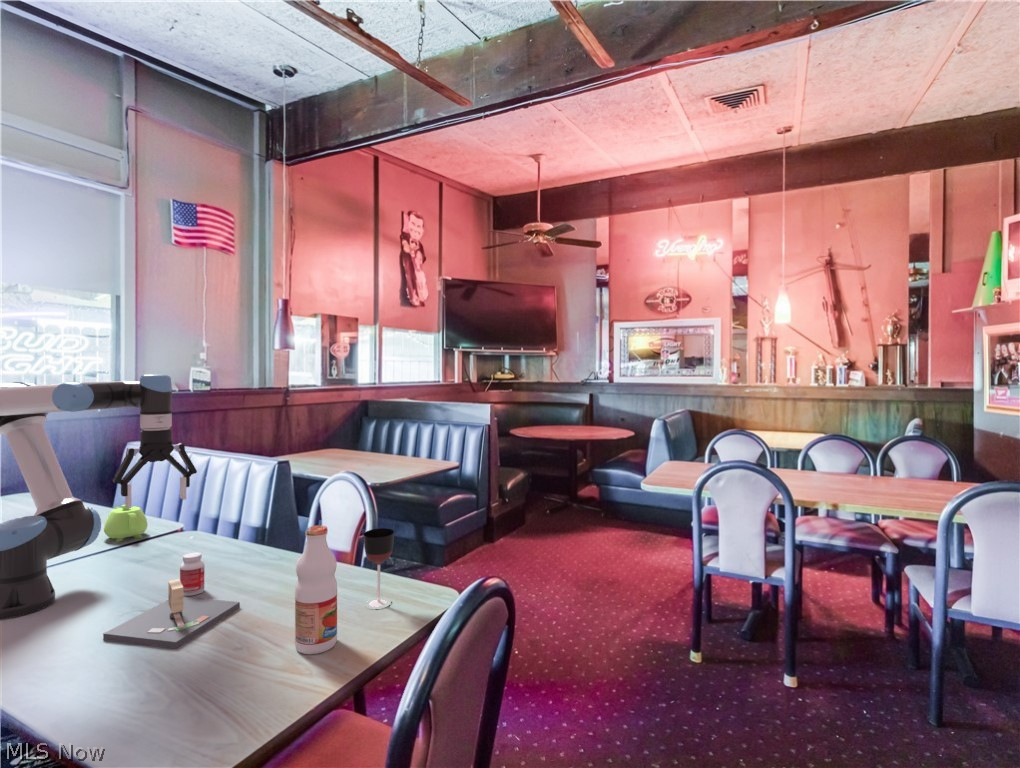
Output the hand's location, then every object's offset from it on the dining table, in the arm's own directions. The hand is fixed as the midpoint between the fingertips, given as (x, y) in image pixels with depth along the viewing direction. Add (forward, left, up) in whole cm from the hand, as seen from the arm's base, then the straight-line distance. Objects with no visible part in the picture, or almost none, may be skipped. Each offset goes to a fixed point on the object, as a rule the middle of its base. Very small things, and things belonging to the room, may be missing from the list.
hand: (156, 503), depth 153 cm
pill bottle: (+8, +4, -27) cm, 28 cm away
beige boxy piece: (+20, -15, -25) cm, 35 cm away
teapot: (-55, +43, -27) cm, 75 cm away
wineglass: (+64, +8, -27) cm, 70 cm away
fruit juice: (+59, -16, -27) cm, 67 cm away
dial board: (+18, -13, -27) cm, 35 cm away
